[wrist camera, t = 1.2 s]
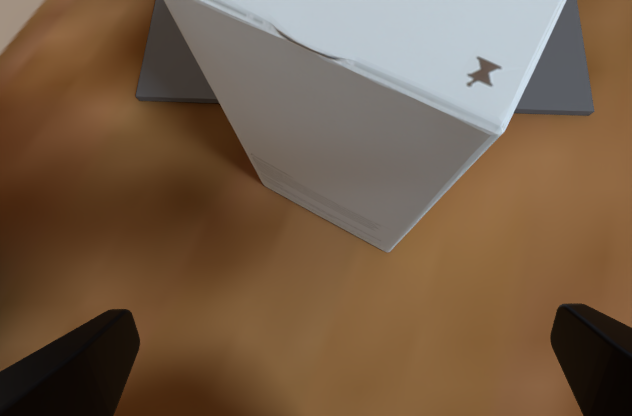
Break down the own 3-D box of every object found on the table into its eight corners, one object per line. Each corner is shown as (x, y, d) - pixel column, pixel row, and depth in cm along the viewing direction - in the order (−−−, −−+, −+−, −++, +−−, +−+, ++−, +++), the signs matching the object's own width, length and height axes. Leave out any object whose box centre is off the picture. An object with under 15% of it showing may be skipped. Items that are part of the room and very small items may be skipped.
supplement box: (454, 133, 23) (659, -155, 9) (388, 256, 21) (514, 146, 7) (328, 73, 25) (328, -259, 10) (257, 183, 23) (133, -34, 8)
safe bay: (588, 115, 23) (640, 77, 19) (139, 100, 25) (104, 61, 21) (568, -16, 26) (610, -73, 22) (164, -23, 27) (137, -78, 23)
